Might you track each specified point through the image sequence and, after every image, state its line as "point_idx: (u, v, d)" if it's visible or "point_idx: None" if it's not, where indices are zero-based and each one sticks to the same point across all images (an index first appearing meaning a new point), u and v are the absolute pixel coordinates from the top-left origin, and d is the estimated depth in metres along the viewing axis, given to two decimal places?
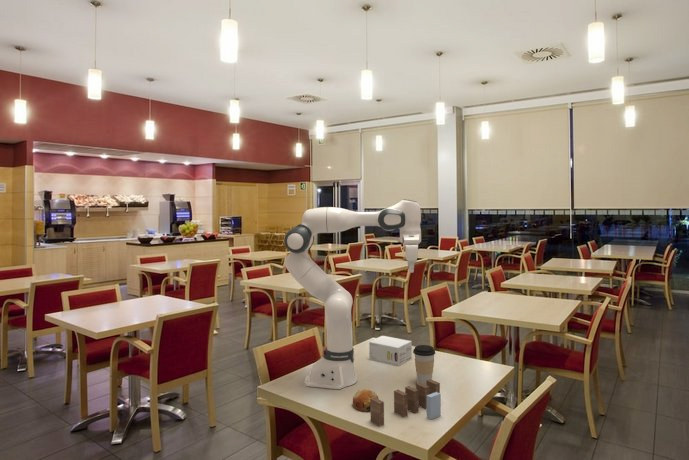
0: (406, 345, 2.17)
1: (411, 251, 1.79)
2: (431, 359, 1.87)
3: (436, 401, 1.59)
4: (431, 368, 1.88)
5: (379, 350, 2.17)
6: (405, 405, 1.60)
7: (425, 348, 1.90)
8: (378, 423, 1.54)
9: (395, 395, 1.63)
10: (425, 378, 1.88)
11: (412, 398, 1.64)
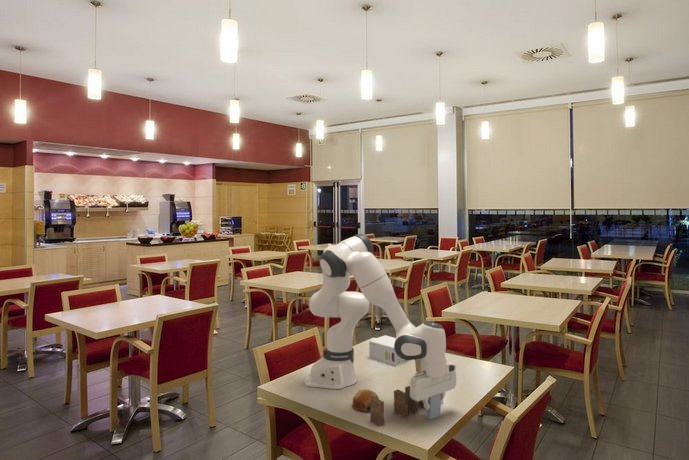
0: None
1: None
2: None
3: (436, 401, 1.59)
4: None
5: (378, 350, 2.18)
6: (404, 405, 1.60)
7: None
8: (378, 423, 1.54)
9: (395, 395, 1.63)
10: None
11: None
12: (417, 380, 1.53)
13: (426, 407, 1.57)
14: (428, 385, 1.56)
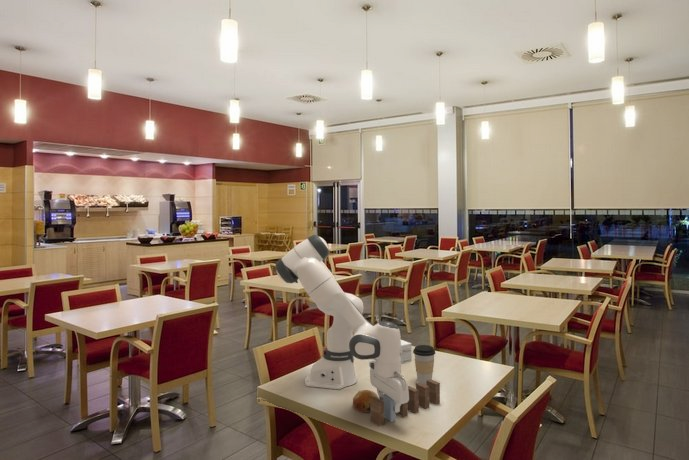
0: (403, 347, 2.14)
1: None
2: (431, 359, 1.87)
3: None
4: (431, 368, 1.88)
5: None
6: (404, 405, 1.60)
7: (425, 348, 1.90)
8: (378, 423, 1.54)
9: None
10: (425, 378, 1.88)
11: (412, 398, 1.64)
12: None
13: (398, 410, 1.54)
14: None
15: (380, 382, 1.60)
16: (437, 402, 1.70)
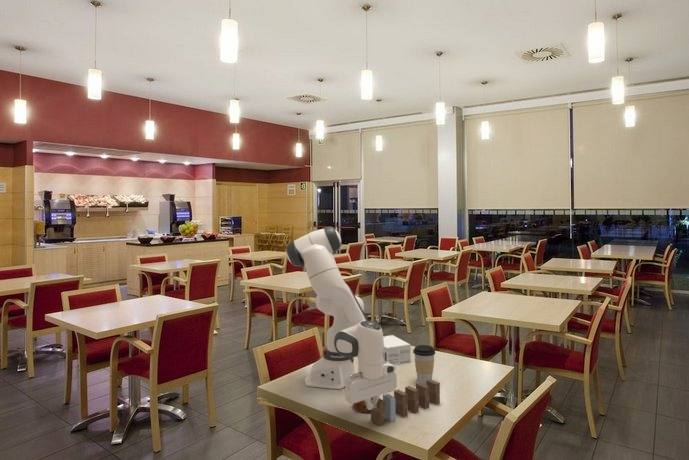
0: (401, 347, 2.14)
1: None
2: (431, 359, 1.87)
3: None
4: (431, 368, 1.88)
5: None
6: (405, 405, 1.60)
7: (425, 348, 1.90)
8: (378, 422, 1.54)
9: (395, 395, 1.63)
10: (425, 378, 1.88)
11: (412, 398, 1.64)
12: (352, 382, 1.48)
13: (369, 408, 1.53)
14: (365, 387, 1.51)
15: None
16: (437, 402, 1.70)
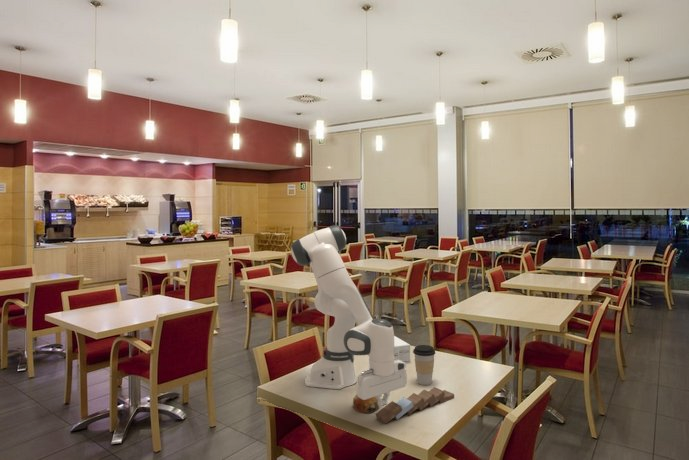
0: (400, 347, 2.13)
1: None
2: (431, 359, 1.87)
3: None
4: (431, 368, 1.88)
5: None
6: (416, 405, 1.63)
7: (425, 348, 1.90)
8: (384, 417, 1.55)
9: (413, 395, 1.67)
10: (425, 378, 1.88)
11: (426, 397, 1.67)
12: (364, 378, 1.51)
13: (380, 404, 1.56)
14: (376, 384, 1.53)
15: None
16: (441, 400, 1.71)
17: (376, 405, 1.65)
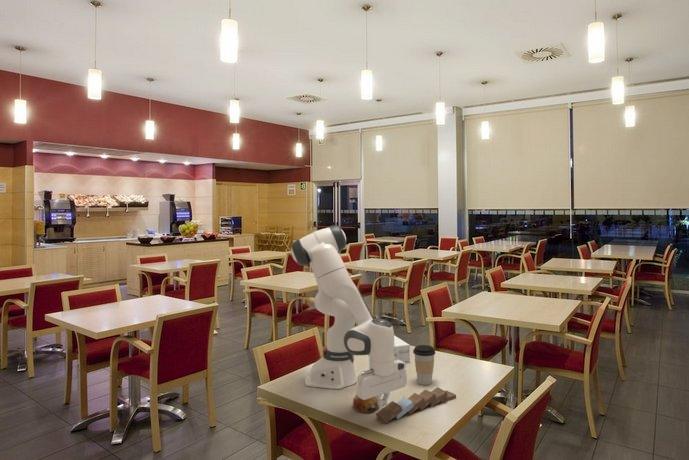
0: (399, 347, 2.13)
1: None
2: (431, 359, 1.87)
3: None
4: (431, 368, 1.88)
5: None
6: (416, 405, 1.63)
7: (425, 348, 1.90)
8: (384, 417, 1.55)
9: (414, 395, 1.68)
10: (425, 378, 1.88)
11: (427, 396, 1.68)
12: (364, 378, 1.51)
13: (380, 404, 1.56)
14: (376, 384, 1.53)
15: None
16: (442, 401, 1.71)
17: (376, 405, 1.65)
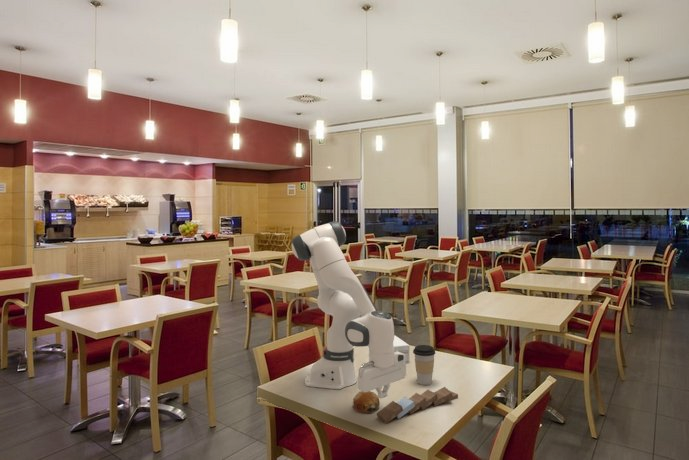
0: (399, 347, 2.13)
1: None
2: (431, 359, 1.87)
3: None
4: (431, 368, 1.88)
5: None
6: (418, 405, 1.64)
7: (425, 348, 1.90)
8: (385, 417, 1.56)
9: (415, 395, 1.68)
10: (425, 378, 1.88)
11: (429, 396, 1.68)
12: (364, 371, 1.50)
13: (380, 396, 1.55)
14: (376, 376, 1.53)
15: None
16: None
17: (376, 405, 1.65)
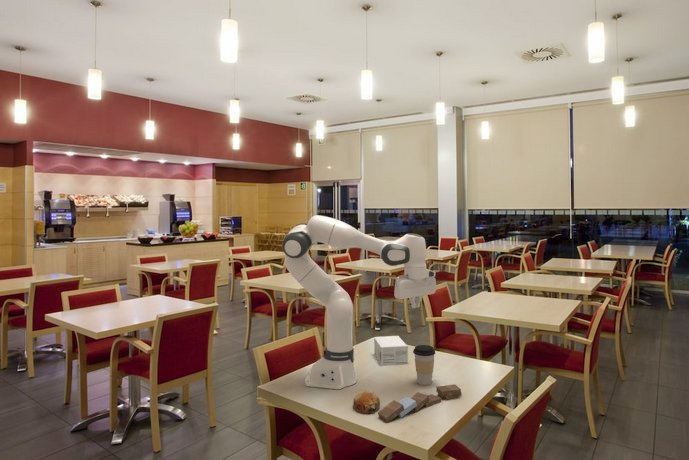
0: (396, 348, 2.13)
1: None
2: (431, 359, 1.87)
3: None
4: (431, 368, 1.88)
5: (376, 347, 2.22)
6: (422, 402, 1.66)
7: (425, 348, 1.90)
8: (386, 415, 1.56)
9: (418, 394, 1.70)
10: (425, 378, 1.88)
11: (433, 399, 1.71)
12: (400, 281, 1.76)
13: (413, 306, 1.81)
14: (410, 287, 1.78)
15: None
16: (448, 398, 1.73)
17: (376, 406, 1.65)
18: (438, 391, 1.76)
